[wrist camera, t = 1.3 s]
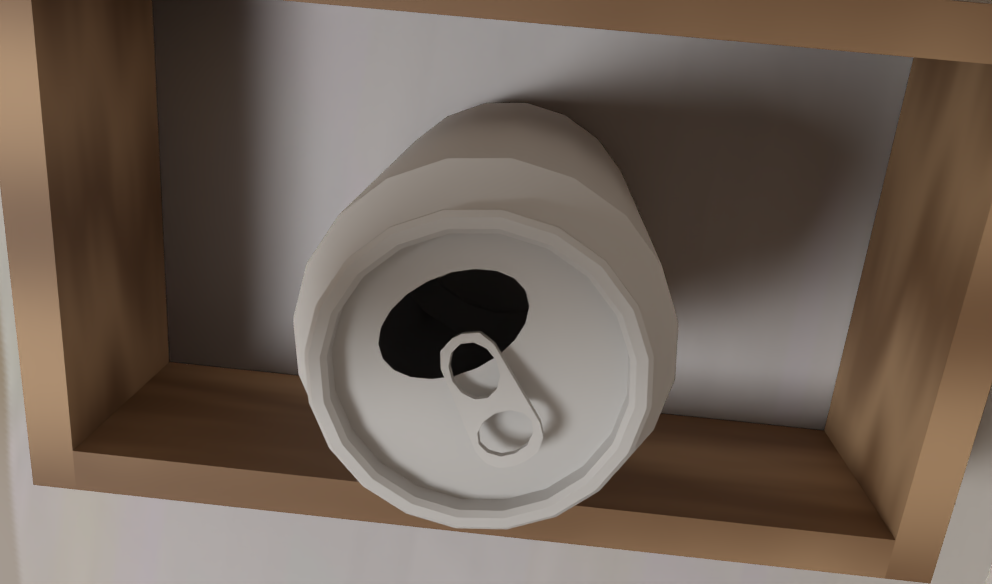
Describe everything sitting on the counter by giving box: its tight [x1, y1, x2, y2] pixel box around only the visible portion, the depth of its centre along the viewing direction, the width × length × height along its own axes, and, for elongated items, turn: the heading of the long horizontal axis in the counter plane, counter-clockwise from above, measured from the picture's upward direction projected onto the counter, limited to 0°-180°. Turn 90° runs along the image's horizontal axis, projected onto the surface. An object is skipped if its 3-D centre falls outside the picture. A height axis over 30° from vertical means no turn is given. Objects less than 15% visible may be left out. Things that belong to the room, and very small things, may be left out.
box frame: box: [0, 0, 992, 583], centre depth 23 cm, size 14×24×6 cm, turn 85°
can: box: [293, 103, 678, 529], centre depth 20 cm, size 8×8×12 cm
